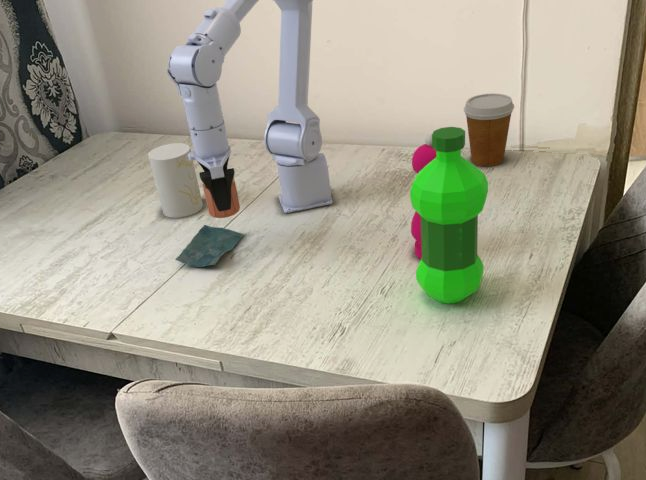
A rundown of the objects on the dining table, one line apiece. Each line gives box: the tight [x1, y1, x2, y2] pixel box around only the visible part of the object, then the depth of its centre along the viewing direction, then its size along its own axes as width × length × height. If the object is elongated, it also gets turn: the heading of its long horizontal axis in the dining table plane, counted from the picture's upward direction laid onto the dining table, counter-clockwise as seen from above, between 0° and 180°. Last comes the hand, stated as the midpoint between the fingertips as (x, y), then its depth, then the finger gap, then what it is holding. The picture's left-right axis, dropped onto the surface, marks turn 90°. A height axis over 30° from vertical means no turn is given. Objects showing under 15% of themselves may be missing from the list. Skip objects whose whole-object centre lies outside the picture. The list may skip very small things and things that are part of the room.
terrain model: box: [174, 224, 244, 268], centre depth 130 cm, size 13×8×2 cm, turn 161°
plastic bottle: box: [409, 126, 489, 304], centre depth 103 cm, size 10×10×25 cm
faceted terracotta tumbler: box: [202, 178, 241, 219], centre depth 124 cm, size 5×6×5 cm
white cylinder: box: [147, 142, 204, 219], centre depth 143 cm, size 8×8×12 cm
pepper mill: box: [410, 133, 437, 260], centre depth 115 cm, size 7×7×20 cm
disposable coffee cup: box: [463, 93, 515, 167], centre depth 144 cm, size 10×10×12 cm
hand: (222, 202), depth 125 cm, fingers closed on faceted terracotta tumbler, 5 cm apart
